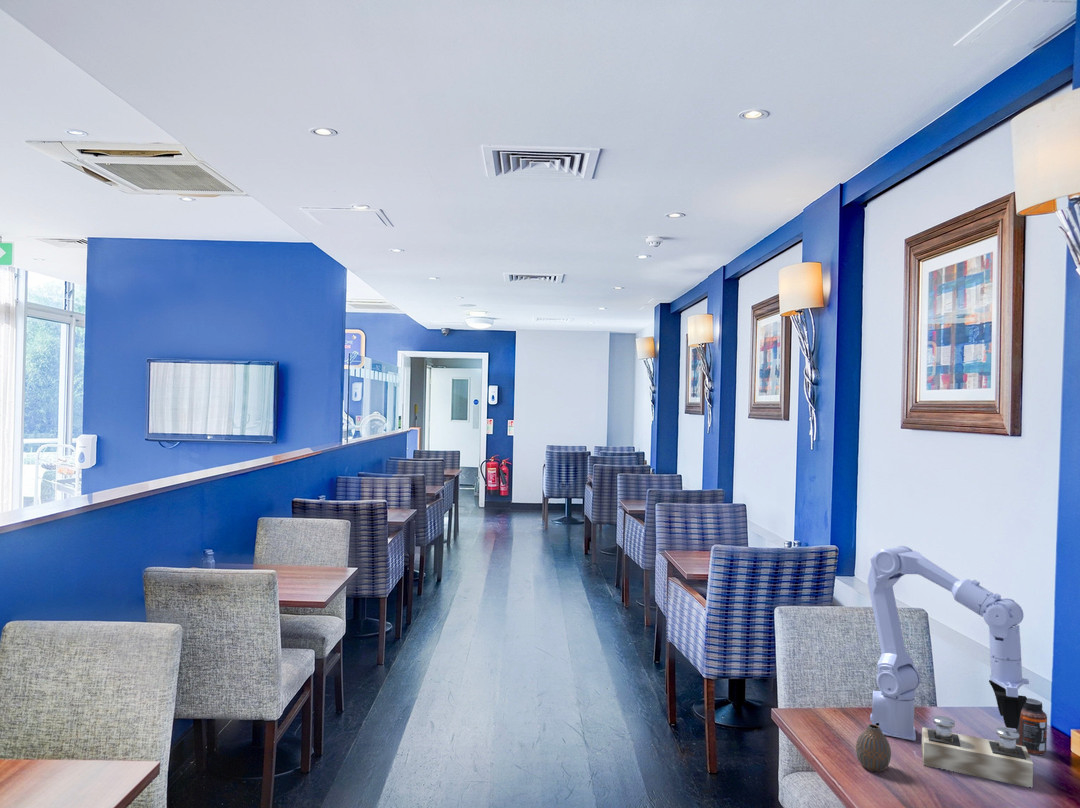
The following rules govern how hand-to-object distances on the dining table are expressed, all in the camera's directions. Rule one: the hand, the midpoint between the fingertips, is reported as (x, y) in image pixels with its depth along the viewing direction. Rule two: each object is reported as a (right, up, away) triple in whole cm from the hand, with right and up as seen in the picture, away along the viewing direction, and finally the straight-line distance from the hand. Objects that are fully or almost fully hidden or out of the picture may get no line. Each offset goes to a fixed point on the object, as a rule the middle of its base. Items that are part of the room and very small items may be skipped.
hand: (1008, 721), depth 159 cm
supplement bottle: (+13, -12, +12) cm, 21 cm away
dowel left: (-12, -6, +5) cm, 14 cm away
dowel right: (-1, -7, 0) cm, 7 cm away
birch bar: (-6, -11, +2) cm, 13 cm away
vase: (-29, -10, +1) cm, 31 cm away
